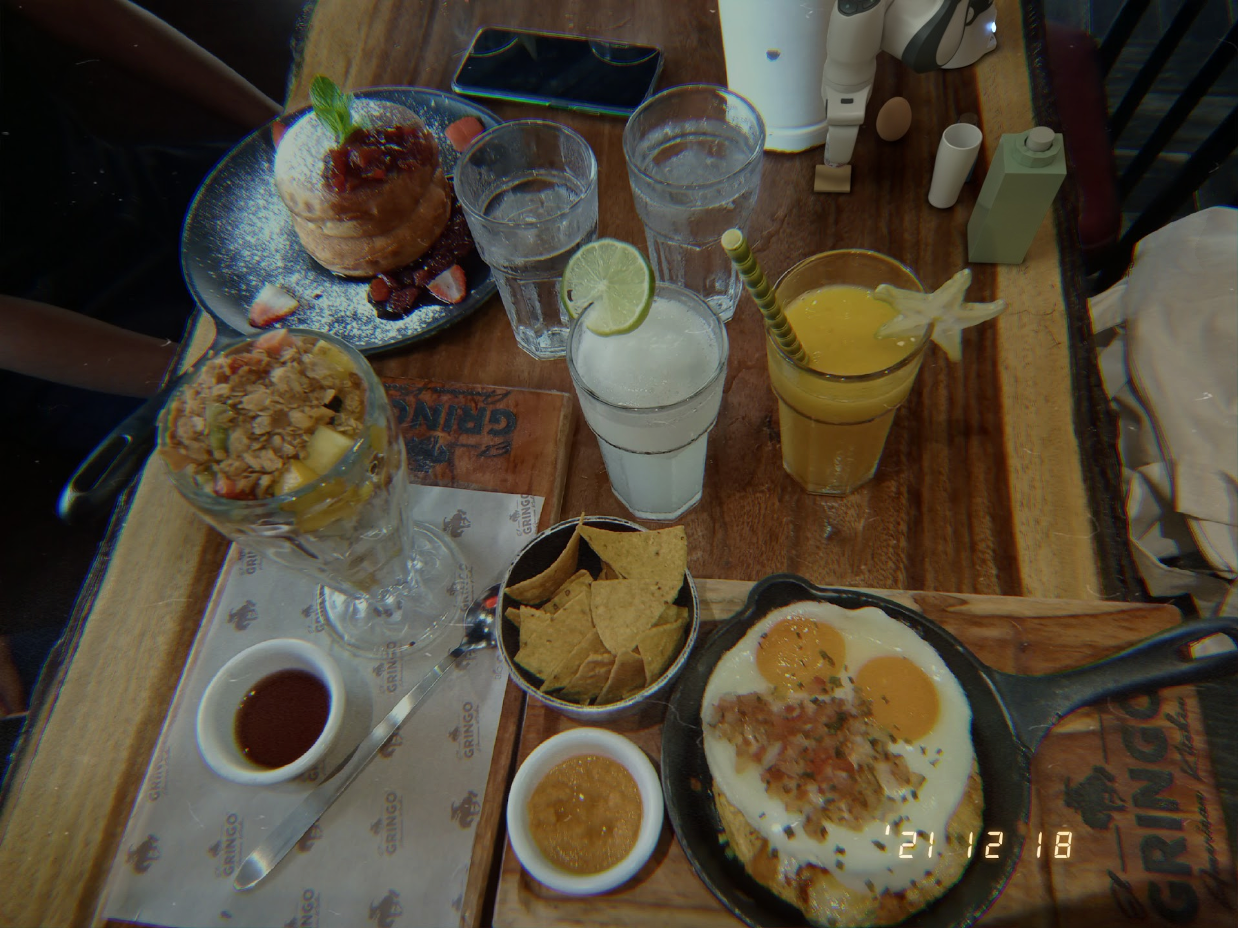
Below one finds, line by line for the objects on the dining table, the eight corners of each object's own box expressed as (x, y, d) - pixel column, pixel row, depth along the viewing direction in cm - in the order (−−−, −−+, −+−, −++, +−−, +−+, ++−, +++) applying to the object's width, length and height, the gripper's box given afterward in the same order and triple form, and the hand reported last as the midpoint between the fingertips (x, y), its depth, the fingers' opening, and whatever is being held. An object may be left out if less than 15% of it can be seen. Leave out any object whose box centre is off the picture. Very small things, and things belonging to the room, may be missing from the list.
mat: (815, 167, 152) (816, 164, 151) (850, 167, 150) (851, 165, 150) (813, 192, 149) (814, 189, 148) (849, 192, 147) (849, 190, 147)
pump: (1024, 137, 118) (1029, 126, 116) (1049, 137, 117) (1053, 126, 115) (1025, 153, 116) (1030, 142, 114) (1050, 153, 116) (1055, 142, 114)
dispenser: (967, 225, 139) (1006, 123, 119) (1018, 226, 138) (1067, 123, 117) (968, 262, 136) (1009, 163, 115) (1021, 264, 134) (1072, 163, 113)
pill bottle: (850, 153, 145) (856, 116, 138) (846, 170, 143) (852, 134, 136) (825, 151, 146) (830, 115, 139) (822, 168, 145) (826, 132, 137)
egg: (891, 154, 150) (900, 116, 142) (866, 139, 153) (873, 101, 145) (913, 137, 151) (923, 98, 143) (888, 122, 154) (896, 83, 146)
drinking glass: (916, 194, 144) (934, 131, 131) (947, 182, 145) (969, 117, 131) (935, 217, 141) (956, 154, 128) (967, 204, 142) (991, 140, 128)
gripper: (831, 46, 135) (824, 111, 147) (826, 123, 126) (818, 185, 139) (867, 45, 134) (856, 111, 146) (864, 123, 125) (853, 186, 137)
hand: (838, 148), depth 142 cm, fingers closed on pill bottle, 5 cm apart
